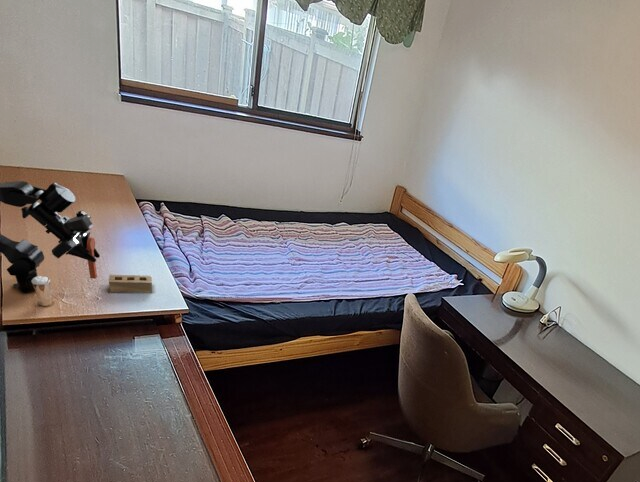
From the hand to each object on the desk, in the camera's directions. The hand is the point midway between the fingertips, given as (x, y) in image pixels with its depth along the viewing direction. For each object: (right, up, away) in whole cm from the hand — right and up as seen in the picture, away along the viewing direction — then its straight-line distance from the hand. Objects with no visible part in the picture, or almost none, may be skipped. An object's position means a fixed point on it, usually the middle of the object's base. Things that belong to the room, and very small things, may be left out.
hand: (97, 259), depth 146 cm
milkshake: (-14, -15, -3) cm, 21 cm away
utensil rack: (+3, -8, +15) cm, 17 cm away
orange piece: (-3, -5, +3) cm, 7 cm away
